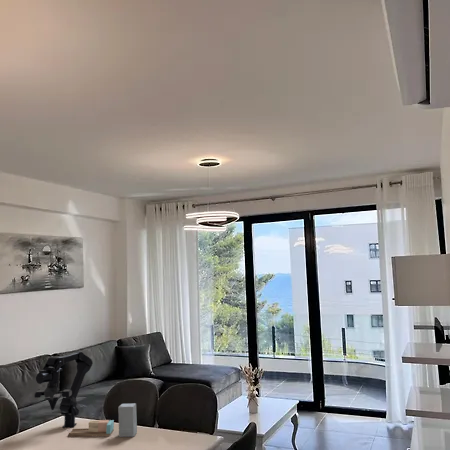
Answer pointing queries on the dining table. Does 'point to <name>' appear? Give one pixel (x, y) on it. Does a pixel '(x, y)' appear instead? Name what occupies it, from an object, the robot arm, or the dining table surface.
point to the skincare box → (127, 420)
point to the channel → (86, 433)
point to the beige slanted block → (93, 426)
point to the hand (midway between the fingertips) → (52, 409)
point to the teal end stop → (110, 426)
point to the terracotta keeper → (102, 425)
